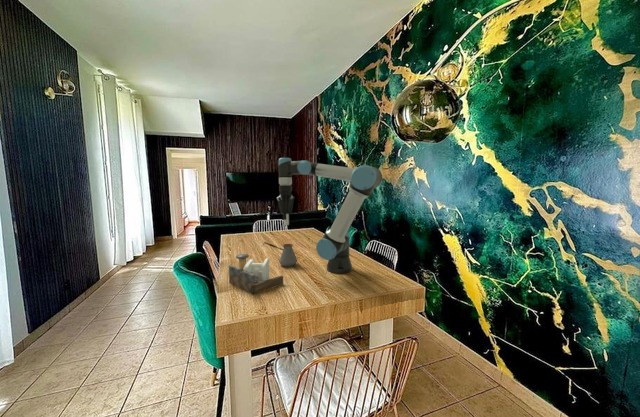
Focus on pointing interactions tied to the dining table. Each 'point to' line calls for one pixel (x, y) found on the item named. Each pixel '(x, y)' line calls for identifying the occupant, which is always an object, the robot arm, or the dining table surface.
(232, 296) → the dining table surface
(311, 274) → the dining table surface
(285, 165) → the robot arm
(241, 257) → the mushroom drawer knob
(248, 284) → the notched bay
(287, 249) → the coffee pot
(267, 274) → the cable organizer
